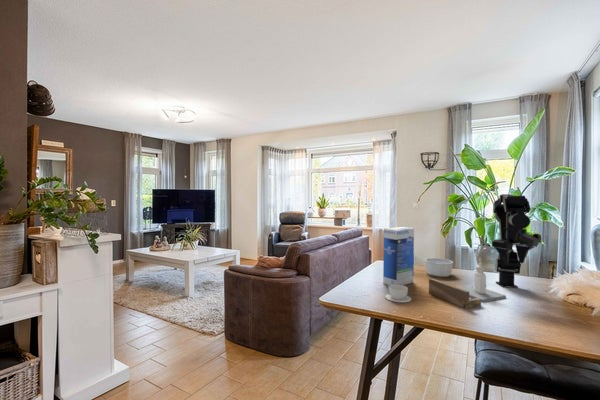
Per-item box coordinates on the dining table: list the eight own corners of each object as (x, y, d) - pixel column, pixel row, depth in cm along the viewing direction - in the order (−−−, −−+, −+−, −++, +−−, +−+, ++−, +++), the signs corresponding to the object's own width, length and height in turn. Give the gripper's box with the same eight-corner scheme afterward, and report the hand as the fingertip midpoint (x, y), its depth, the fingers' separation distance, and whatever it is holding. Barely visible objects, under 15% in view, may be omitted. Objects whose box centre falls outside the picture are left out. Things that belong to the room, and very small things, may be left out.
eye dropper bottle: (473, 293, 121) (473, 264, 121) (473, 289, 126) (473, 261, 126) (485, 295, 119) (486, 265, 119) (485, 291, 124) (485, 262, 124)
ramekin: (436, 278, 146) (437, 264, 146) (419, 271, 158) (419, 258, 158) (458, 276, 149) (459, 262, 149) (440, 270, 162) (440, 257, 162)
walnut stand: (442, 290, 127) (442, 276, 127) (480, 305, 110) (481, 289, 110) (428, 292, 125) (428, 278, 125) (466, 308, 108) (466, 292, 108)
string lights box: (401, 278, 145) (401, 226, 144) (414, 282, 139) (415, 228, 138) (382, 283, 138) (382, 228, 137) (395, 287, 131) (396, 230, 131)
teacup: (413, 304, 112) (413, 292, 112) (386, 302, 114) (386, 290, 114) (409, 295, 122) (409, 284, 122) (384, 293, 124) (384, 282, 124)
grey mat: (476, 288, 131) (476, 285, 131) (505, 297, 119) (506, 295, 119) (454, 291, 126) (454, 289, 126) (482, 302, 114) (482, 299, 114)
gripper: (519, 229, 110) (518, 270, 111) (551, 227, 117) (551, 266, 117) (491, 226, 121) (490, 264, 121) (522, 224, 127) (521, 260, 128)
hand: (513, 263), depth 121 cm, fingers open, 9 cm apart
